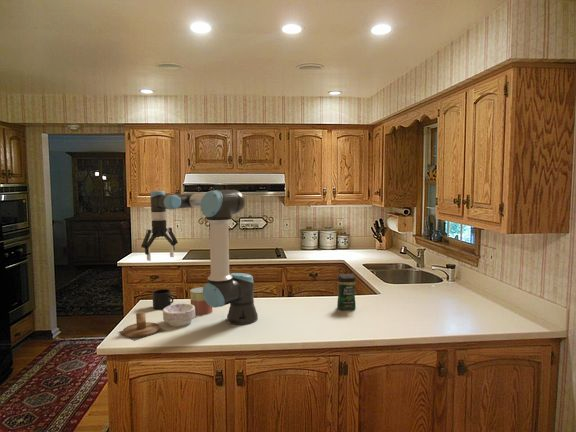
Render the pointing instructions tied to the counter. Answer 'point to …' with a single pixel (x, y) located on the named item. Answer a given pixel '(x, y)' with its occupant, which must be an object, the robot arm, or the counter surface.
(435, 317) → the counter surface
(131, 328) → the lid
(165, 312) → the speckled bowl
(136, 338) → the mat
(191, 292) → the canned food
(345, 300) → the coffee jar
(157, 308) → the mug
